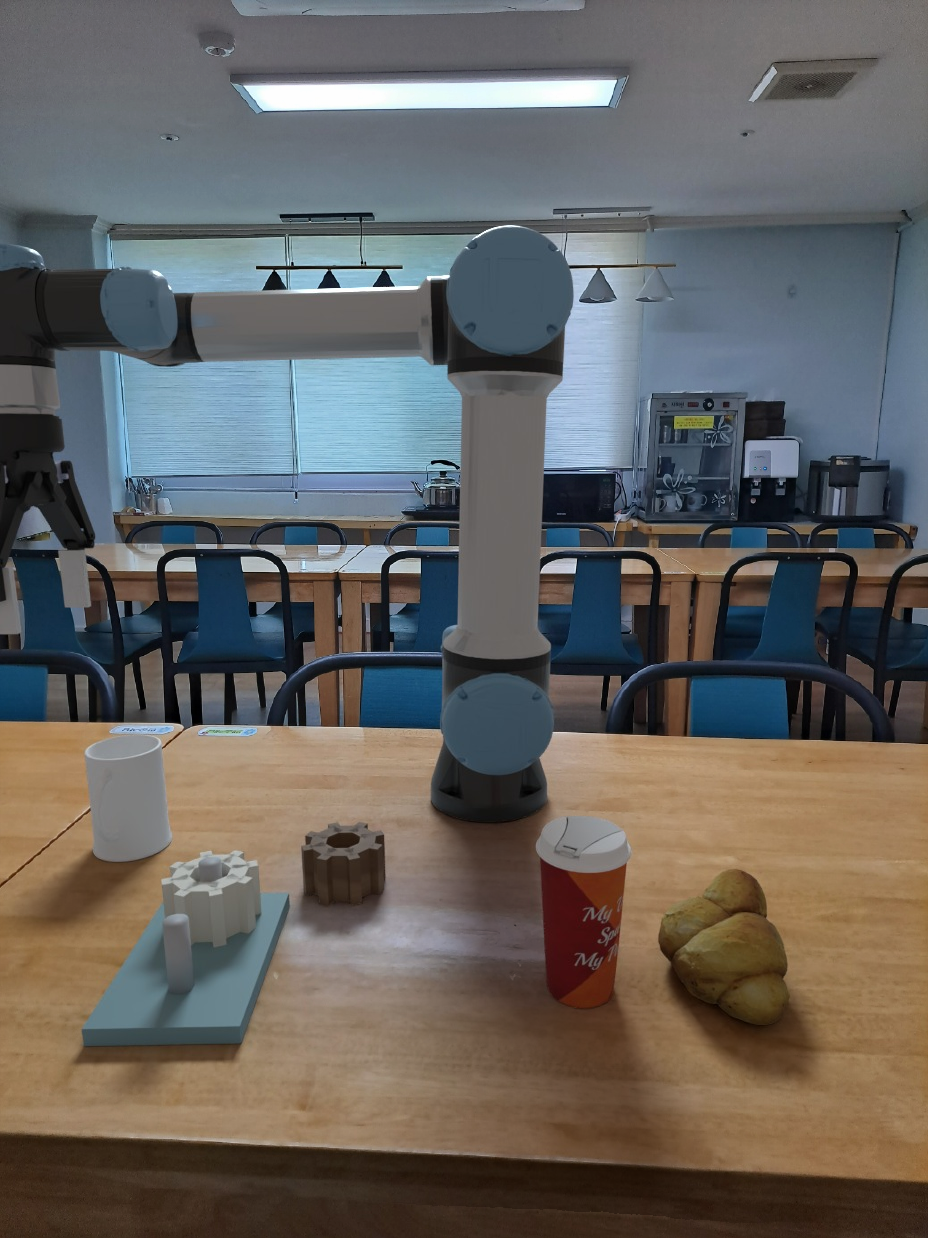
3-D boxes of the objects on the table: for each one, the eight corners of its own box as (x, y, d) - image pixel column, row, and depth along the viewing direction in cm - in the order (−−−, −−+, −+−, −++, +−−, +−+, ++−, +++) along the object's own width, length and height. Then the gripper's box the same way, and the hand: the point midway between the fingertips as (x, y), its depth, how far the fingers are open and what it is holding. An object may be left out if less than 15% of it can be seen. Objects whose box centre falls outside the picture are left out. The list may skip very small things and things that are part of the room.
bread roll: (815, 1037, 62) (823, 943, 60) (691, 1042, 62) (696, 949, 60) (748, 938, 75) (754, 858, 73) (644, 942, 74) (648, 862, 73)
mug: (133, 880, 86) (122, 774, 83) (58, 875, 87) (46, 770, 84) (185, 829, 97) (177, 734, 95) (119, 825, 98) (109, 732, 96)
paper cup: (605, 1031, 63) (610, 866, 60) (518, 996, 67) (519, 841, 64) (640, 976, 69) (646, 825, 66) (559, 948, 73) (561, 804, 70)
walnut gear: (387, 863, 88) (386, 821, 87) (381, 905, 80) (379, 859, 79) (312, 865, 88) (310, 822, 87) (298, 906, 80) (295, 860, 79)
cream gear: (268, 896, 79) (265, 849, 78) (247, 947, 71) (244, 895, 70) (184, 897, 79) (180, 851, 78) (154, 948, 71) (148, 897, 70)
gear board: (289, 906, 80) (285, 836, 79) (241, 1043, 62) (234, 956, 60) (168, 908, 80) (162, 838, 79) (83, 1046, 62) (73, 958, 60)
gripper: (51, 418, 94) (72, 598, 98) (-109, 407, 69) (-72, 647, 74) (114, 417, 93) (132, 597, 98) (-24, 405, 69) (8, 647, 73)
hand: (44, 619), depth 86 cm, fingers open, 13 cm apart
